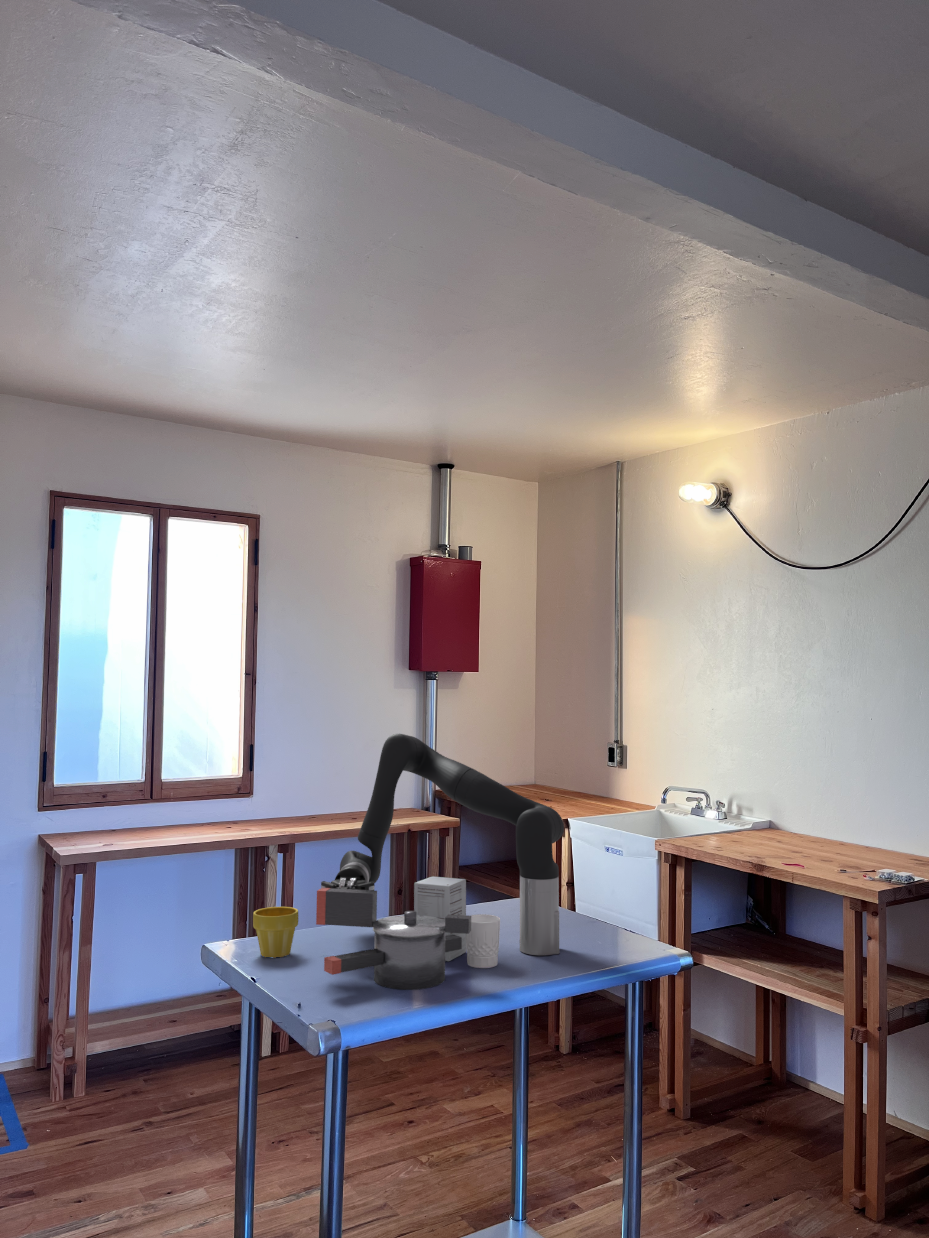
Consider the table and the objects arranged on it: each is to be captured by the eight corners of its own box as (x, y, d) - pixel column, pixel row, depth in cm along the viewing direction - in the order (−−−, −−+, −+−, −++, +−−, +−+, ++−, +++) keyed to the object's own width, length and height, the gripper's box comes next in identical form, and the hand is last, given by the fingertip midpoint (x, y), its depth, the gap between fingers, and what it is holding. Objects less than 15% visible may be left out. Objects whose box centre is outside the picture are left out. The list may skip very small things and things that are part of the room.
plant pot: (242, 954, 210) (244, 910, 211) (280, 945, 218) (281, 903, 219) (269, 963, 203) (270, 918, 204) (306, 954, 211) (307, 910, 212)
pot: (462, 967, 202) (462, 920, 202) (455, 1001, 179) (456, 948, 180) (342, 964, 203) (343, 918, 204) (320, 997, 180) (322, 945, 181)
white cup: (488, 971, 199) (488, 924, 200) (458, 965, 203) (458, 919, 204) (506, 962, 205) (506, 917, 206) (476, 957, 209) (476, 912, 210)
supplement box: (467, 952, 214) (468, 878, 215) (449, 962, 205) (450, 885, 207) (431, 947, 218) (432, 875, 219) (412, 956, 210) (413, 881, 211)
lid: (476, 923, 199) (476, 889, 200) (462, 941, 184) (462, 904, 184) (331, 915, 205) (331, 882, 206) (305, 932, 190) (306, 896, 191)
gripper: (325, 863, 220) (313, 877, 202) (380, 864, 219) (372, 878, 202) (324, 895, 219) (312, 912, 202) (379, 896, 219) (372, 912, 202)
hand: (342, 895), depth 202 cm, fingers closed
